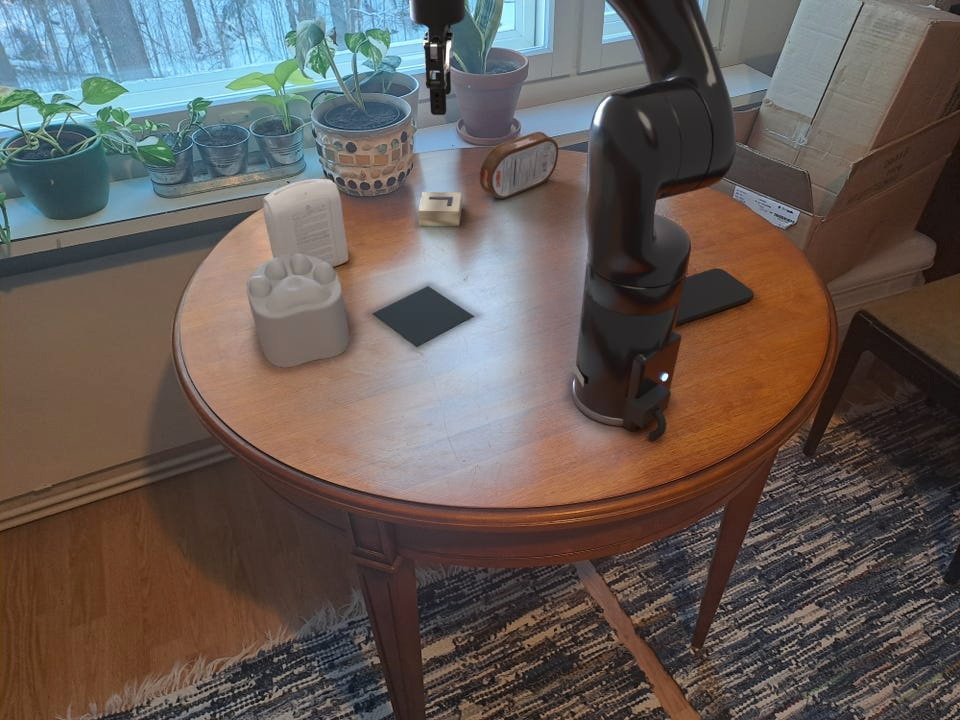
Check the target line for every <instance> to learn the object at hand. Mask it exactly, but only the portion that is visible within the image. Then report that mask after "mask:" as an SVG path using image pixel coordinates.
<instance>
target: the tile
mask: <svg viewBox="0 0 960 720" xmlns="http://www.w3.org/2000/svg"><path fill="white" fill-rule="evenodd" d="M462 196H463V193H462V192H450V191H449V192H448V191H447V192H443V191H442V192H441V191H438V192H437V191H422V194H421V198H420V202H419V207H418V211H417V212H418V224H419V226H420V227H421V226H422V227H423V226H426V227H427V226H428V227H460V223H461V218H462V209H463V197H462Z"/></svg>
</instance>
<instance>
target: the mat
mask: <svg viewBox="0 0 960 720" xmlns="http://www.w3.org/2000/svg"><path fill="white" fill-rule="evenodd" d="M372 315H373V316H374V317H376V318H377V319H379V320H380V321H381V322H383V323H384V324H385V325H387V326H388V328H390V329H392V330H393V331H395V332H396V333H397V334H399V335H400V336H401V337H403V338H404V339H406V340H407V341H408V342H410V343H411V344H412V345H414V346H415V347H420V346H421V345H423V344H425V343H427V342H428V341H429V342H430V341H431V340H432V339H434V338H437V337H438V336H440V335H441V334H443V333H445V332H447V331H449V330H452V329H453V328H454V327H457V326H458V325H460V324H462V323H463V322H465V321H467V320H469V319H471V318H473V317H474V314H472V313H470V312H469V311H468V310H466V309H464V308H463V307H461V306H460V305H458V304H457V303H455V302H454V301H452V300H451V299H449V298H447V297H446V296H444V295H442V294H441V293H440V292H439V291H436V290H435V289H434V288H432V287H430V285H427V286H425V287H423V288H421V289H419V290H416V291H415V292H413V293H411V294H409V295H406V296H405V297H403V298H400V299H398V300H396V301H394V302H393V303H390V304H388V305H387V306H384V307H381V308H380V309H378V310H376V311H374V312H372Z"/></svg>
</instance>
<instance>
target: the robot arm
mask: <svg viewBox="0 0 960 720" xmlns="http://www.w3.org/2000/svg"><path fill="white" fill-rule="evenodd" d="M465 2H466V0H409V2H408V3H409V17H410V19H411V21H412V22H413V23H415V24H417V25H419V26H425V27H426V28H427V31H425V34H424V35H425V36H424V37H423V40H422V48H423V50H424V69H425V86H426V89H427V90H429V102H430V104H429V105H430V114H431V115H432V116H444V115H445V116H446V114H447V96H449V95H450V94H451V91H452V80H451V79H452V78H451V67H452V65H453V58H454V42H455V41H454V39H455V35H454V31H452V26H454V25H458V24H459V23H462V22H463V21H464V19H465V17H466V4H465ZM605 2H606V3H607V4H608V6H610V7H611V8H612V10H613V11H614V12H615V13H616V15H618V17H619V18H620V19H621V20H622V22H623V23H624V25H625V26H626V27H627V28H626V29H628V30H629V32H630V34H631V36H632V38H633V40H634V42H635V43H636V46H637V48H638V51H639V53H640V56H641V58H642V61H643V65H644V68H645V71H646V75H647V78H648V82H649V83H647V84H641V85H637V86H631V87H625V88H622V89H621V88H620V89H618V90H614V91H612V92H609V93H608V94H606V95H605V96H604V97H603V98H602V99H601V100H600V101H599V103H598V104H597V106H596V108H595V109H594V112H593V115H592V118H591V121H590V126H589V131H588V139H587V153H586V179H585V180H586V181H585V182H586V183H585V202H584V224H585V233H586V239H587V255H586V256H587V257H586V266H585V275H584V284H583V293H582V304H581V312H580V322H579V330H578V331H579V332H578V339H577V341H578V342H577V348H576V349H577V350H576V358H575V359H576V360H575V361H572V362H573V363H572V370H573V372H574V379H573V383H572V391H571V392H572V393H571V395H572V399H573V402H574V403H575V405H576V407H577V408H578V409H579V410H580V411H581V412H582V413H583V414H584V415H586V417H588V418H590V419H592V420H594V421H596V422H598V423H601V424H605V425H609V426H616V427H623V428H625V429H626V430H628V431H630V432H633V431H634V430H636V429H638V428H640V429H642V428H644V427H646V426H647V425H649V424H650V422H652V421H654V419H655V421H656V424H657V427H656V428H655V429H653V430H651V431H650V432H649V433H648V438H649V439H650V440H651V441H656V440H657V439H659V438H660V437H662V436H663V435H665V432H666V430H667V420H666V417H665V415H664V411H666V410H667V409H668V408H669V403H670V398H671V395H672V391H671V387H672V383H673V378H674V373H675V369H676V364H677V360H678V355H679V351H680V348H681V347H680V346H681V343H682V334H680V333H679V332H677V331H675V328H676V326H675V324H676V320H677V315H678V310H679V306H680V301H681V296H682V292H683V287H684V282H685V278H686V277H687V272H688V268H689V263H690V259H691V253H692V242H691V238H690V235H689V234H688V233H687V231H686V230H685V229H684V228H683V227H682V226H680V224H678V223H676V222H675V221H673V220H671V219H670V218H667V217H665V216H662V215H659V214H657V213H655V212H656V205H657V201H658V200H663V199H666V198H667V199H668V198H672V197H675V196H679V195H683V194H687V193H692V192H695V191H699V190H703V189H706V188H709V187H712V186H714V185H716V184H718V183H719V182H721V181H722V180H723V179H724V178H725V177H726V176H727V174H729V172H730V169H731V167H732V165H733V163H734V160H735V155H736V152H737V151H736V150H737V125H736V117H735V113H734V109H733V103H732V101H731V96H730V93H729V89H728V86H727V83H726V80H725V77H724V74H723V71H722V67H721V65H720V63H719V59H718V56H717V53H716V51H715V48H714V46H713V42H712V39H711V37H710V33H709V30H708V27H707V24H706V21H705V18H704V16H703V13H702V9H701V6H700V2H699V0H605ZM434 73H435V75H434V76H435V78H433V74H434Z"/></svg>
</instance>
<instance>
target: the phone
mask: <svg viewBox="0 0 960 720" xmlns="http://www.w3.org/2000/svg"><path fill="white" fill-rule="evenodd" d="M754 295H755V293H754V291H753V290H752V289H751V288H750V287H748V286H747V285H745V284H744V283H743V282H742V281H740V280H739V279H737V278H736V277H734V276H733V275H731V273H729V272H728V271H726V270H724V269H723V268H711V269H708V270H704V271H702V272H699V273H695V274H692V275H689V276H686V278H685V282H684V287H683V292H682V296H681V301H680V306H679V310H678V315H677V320H676V324H675V327H677V326H679V325H680V326H681V325H683V324H685V323H688V322H691V321H694V320H697V319H700V318H703V317H706V316H709V315H712V314H715V313H718V312H722V311H724V310H727V309H730V308H733V307H736V306H739V305H742V304H745V303H749V302H751V301H752V300H753V299H754Z"/></svg>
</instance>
